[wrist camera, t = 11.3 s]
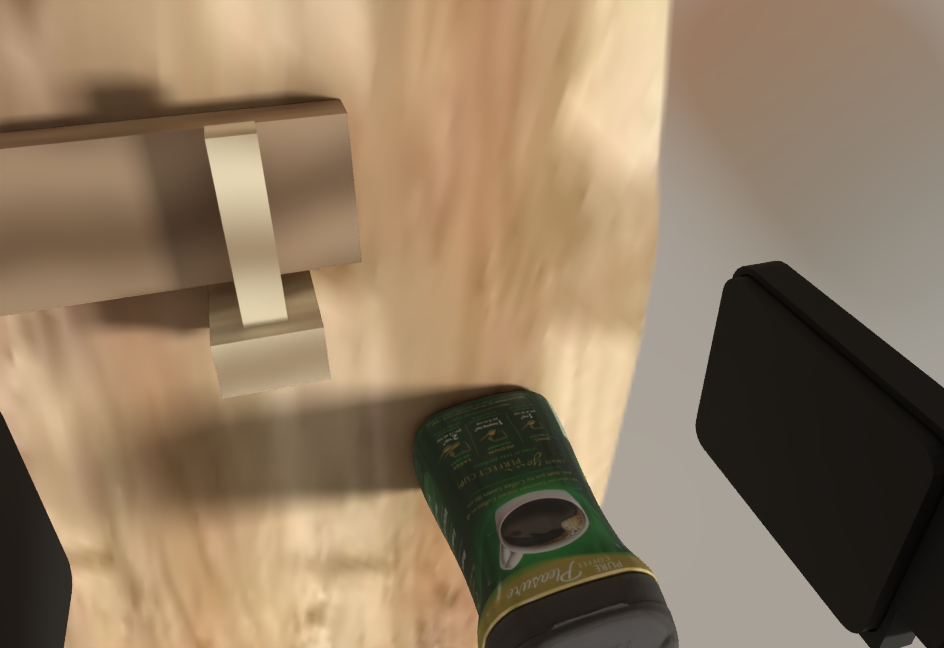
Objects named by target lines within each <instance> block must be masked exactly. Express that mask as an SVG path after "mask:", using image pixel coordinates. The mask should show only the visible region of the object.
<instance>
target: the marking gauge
mask: <svg viewBox="0 0 944 648" xmlns="http://www.w3.org/2000/svg"><path fill="white" fill-rule="evenodd" d="M204 135H205V143H206V148H207V153H208V157H209V162H210V167H211V172H212V177H213V182H214V186H215V191H216V196H217V201H218V206H219V211H220V215H221V220H222V225H223V230H224V235H225V240H226V244H227V249H228V254H229V259H230V264H231V269H232V273H233V278H234V281H233V282H226V283H219V284H213V285H208V301H209V327H210V347H211V351H212V356H213V360H214V364H215V368H216V372H217V376H218V381H219V385H220V389H221V393H222V397H223V399H225V398H230V397H236V396H241V395H247V394H252V393H257V392H263V391H268V390H274V389H279V388H285V387H290V386H296V385H301V384H307V383H312V382H318V381H323V380H329V379H331V376H330V369H329V362H328V354H327V347H326V340H325V333H324V326H323V322H322V318H321V314H320V310H319V306H318V303H317V299H316V295H315V291H314V287H313V283H312V279H311V275H310V271H309V270H306V271H300V272H293V273H286V274H280V268H279V262H278V256H277V250H276V244H275V238H274V232H273V226H272V220H271V215H270V209H269V203H268V197H267V191H266V185H265V179H264V173H263V167H262V161H261V155H260V149H259V143H258V137H257V131H256V126H255V121H248V122H239V123H229V124H219V125H210V126H204Z"/></svg>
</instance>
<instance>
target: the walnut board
mask: <svg viewBox="0 0 944 648" xmlns="http://www.w3.org/2000/svg"><path fill="white" fill-rule="evenodd" d="M248 121H255V126H256V131H257V137H258V143H259V149H260V155H261V161H262V167H263V173H264V179H265V185H266V191H267V197H268V203H269V209H270V215H271V220H272V226H273V232H274V238H275V244H276V250H277V256H278V262H279V268H280V274H286V273H293V272H300V271H306V270H313V269H320V268H327V267H333V266H340V265H347V264H353V263H360V262H362V259H361V249H360V239H359V228H358V218H357V208H356V198H355V187H354V177H353V167H352V157H351V146H350V136H349V126H348V116H347V112H346V110H345V108H344V106H343V104H342V102H341V100H340V99H337V100H327V101H317V102H307V103H297V104H287V105H277V106H267V107H257V108H247V109H237V110H227V111H217V112H206V113H196V114H186V115H176V116H166V117H156V118H146V119H136V120H126V121H116V122H106V123H96V124H85V125H75V126H65V127H55V128H45V129H35V130H25V131H15V132H5V133H0V316H5V315H12V314H18V313H25V312H32V311H39V310H45V309H52V308H59V307H65V306H72V305H79V304H85V303H92V302H99V301H106V300H112V299H119V298H126V297H132V296H139V295H146V294H152V293H159V292H166V291H172V290H179V289H186V288H193V287H199V286H206V285H213V284H219V283H226V282H233V281H234V278H233V273H232V269H231V264H230V259H229V254H228V249H227V244H226V240H225V235H224V230H223V225H222V220H221V215H220V211H219V206H218V201H217V196H216V191H215V186H214V182H213V177H212V172H211V167H210V162H209V157H208V153H207V148H206V143H205V135H204V126H210V125H219V124H229V123H239V122H248Z"/></svg>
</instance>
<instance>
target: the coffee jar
mask: <svg viewBox="0 0 944 648" xmlns="http://www.w3.org/2000/svg"><path fill="white" fill-rule="evenodd" d="M413 458H414V467H415V472H416V476H417V479H418V481H419V484H420V487H421V489H422V492H423V494H424V497H425V499H426V501H427V503H428V505H429V507H430V509H431V511H432V513H433V515H434V517H435V519H436V521H437V523H438V525H439V527H440V529H441V531H442V533H443V535H444V536H445V538H446V540H447V542H448V544H449V546H450V548H451V550H452V552H453V554H454V556H455V558H456V560H457V562H458V564H459V566H460V568H461V571H462V573H463V575H464V577H465V580H466V582H467V585H468V587H469V590H470V592H471V595H472V598H473V600H474V603H475V606H476V609H477V612H478V615H479V620H478V631H477V634H478V648H678V647H679V645H678V642H679V641H678V635H677V631H676V627H675V624H674V621H673V618H672V615H671V612H670V610H669V609H668V607H667V605H666V602H665V599H664V597H663V594H662V592H661V590H660V588H659V585H658V582H657V579H656V578H655V575H654V574H653V572H652V571H651V570H650V568H649V567H648V566H647V565H646V564H645V563H644V562H643V561H641V560H640V559H639V558H638V557H637V556H636V555H634V554H633V553H632V552H631V551H630V550H629V549H627V548H626V546H625V545H624V544H623V543H622V542H621V541H620V539H619V538H618V537H617V535H616V534H615V532H614V530H613V529H612V527H611V526H610V524H609V523H608V521H607V519H606V518H605V516H604V514H603V512H602V511H601V509H600V507H599V505H598V503H597V501H596V499H595V497H594V495H593V493H592V491H591V489H590V486H589V485H588V483H587V480H586V478H585V476H584V474H583V472H582V470H581V467H580V465H579V463H578V461H577V458H576V456H575V454H574V451H573V449H572V447H571V444H570V442H569V440H568V438H567V435H566V433H565V431H564V429H563V427H562V425H561V423H560V421H559V419H558V417H557V415H556V413H555V411H554V409H553V408H552V406H551V405H550V403H549V402H548V400H547V399H546V398H544V397H543V396H542V395H540V394H537V393H535V392H531V391H513V392H507V393H500V394H496V395H491V396H486V397H483V398H479V399H475V400H472V401H468V402H465V403H462V404H459V405H456V406H453V407H451V408H448V409H445V410H443V411H441V412H438V413H436V414H435V415H433V416H432V417H430V418H429V419H428V420H426V421H425V423H424V424H423V425H422V427H421V428H420V429H419V431H418V433H417V434H416V437H415V440H414V446H413Z"/></svg>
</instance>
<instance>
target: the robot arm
mask: <svg viewBox="0 0 944 648" xmlns="http://www.w3.org/2000/svg"><path fill="white" fill-rule="evenodd" d="M696 433H697V437H698V439H699V442H700V444H701V445H702V447H703V448H704V450H705V451H706V452H707V454H708V455H709V456H710V457H711V459H712V460H713V461H714V462H715V464H716V465H717V466H718V468H719V469H720V470H721V471H722V473H723V474H724V475H725V476H726V478H727V479H728V480H729V482H730V483H731V484H732V485H733V487H734V488H735V489H736V490H737V492H738V493H739V494H740V495H741V497H742V498H743V499H744V501H745V502H746V503H747V504H748V506H749V507H750V508H751V510H752V511H753V512H754V513H755V515H756V516H757V517H758V518H759V520H760V521H761V522H762V524H763V525H764V526H765V527H766V529H767V530H768V531H769V532H770V534H771V535H772V536H773V538H774V539H775V540H776V541H777V543H778V544H779V545H780V546H781V548H782V549H783V550H784V552H785V553H786V554H787V555H788V557H789V558H790V559H791V560H792V562H793V563H794V564H795V565H796V567H797V568H798V569H799V570H800V572H801V573H802V574H803V576H804V577H805V578H806V579H807V581H808V582H809V583H810V585H811V586H812V587H813V588H814V590H815V591H816V592H817V594H818V595H819V596H820V597H821V599H822V600H823V601H824V602H825V604H826V605H827V606H828V607H829V609H830V610H831V611H832V613H833V614H834V615H835V616H836V618H837V619H838V620H839V621H840V623H841V624H842V625H843V626H844V627H845V628H846V629H847V630H849V631H850V632H852V633H859V635H860V636H861V637H862V638H863V640H864V641H865V642H866V643H867V644H868V646H869V647H870V648H901V647H903V646H907V645H910V644H912V641H913V640H914V638H915V636H917V637H918V639H919V640H920V641H921V642H922V643H923V644H924V645H925V647H927V648H944V388H943V387H942V386H941V385H939V384H938V383H937V382H936V381H934V380H933V379H932V378H931V377H929V376H928V375H927V374H925V373H924V372H923V371H922V370H920V369H919V368H918V367H917V366H915V365H914V364H913V363H911V362H910V361H909V360H908V359H906V358H905V357H904V356H903V355H901V354H900V353H899V352H898V351H896V350H895V349H894V348H892V347H891V346H890V345H889V344H887V343H886V342H885V341H883V340H882V339H881V338H880V337H879V336H877V335H876V334H875V333H873V332H872V331H871V330H870V329H868V328H867V327H866V326H864V325H863V324H862V323H861V322H859V321H858V320H857V319H856V318H854V317H853V316H852V315H851V314H849V313H848V312H846V311H845V310H844V309H843V308H842V307H840V306H839V305H838V304H837V303H835V302H834V301H833V300H831V299H830V298H829V297H828V296H826V295H825V294H824V293H823V292H821V291H820V290H819V289H818V288H816V287H815V286H814V285H812V284H811V283H810V282H809V281H807V280H806V279H805V278H804V277H802V276H801V275H800V274H798V273H797V272H796V271H795V270H793V269H792V268H791V267H790V266H788V265H787V264H785V263H783V262H782V261H772V262H766V263H760V264H754V265H748V266H742V267H741V268H739V269H737V271H736V272H735V273H734V275H733V278H732V279H730V280H728V281H727V282H726V283H725V286H724V288H723V292H722V297H721V302H720V307H719V312H718V317H717V321H716V326H715V331H714V336H713V341H712V346H711V351H710V355H709V360H708V365H707V370H706V375H705V379H704V384H703V390H702V395H701V399H700V404H699V409H698V413H697V419H696ZM71 594H72V575H71V569H70V564H69V561H68V558H67V556H66V554H65V552H64V550H63V547H62V545H61V543H60V541H59V539H58V536H57V534H56V532H55V530H54V528H53V525H52V523H51V521H50V519H49V517H48V514H47V512H46V510H45V508H44V506H43V503H42V501H41V499H40V497H39V495H38V492H37V490H36V488H35V486H34V484H33V481H32V479H31V477H30V475H29V472H28V470H27V468H26V466H25V464H24V461H23V459H22V457H21V455H20V453H19V450H18V448H17V446H16V444H15V442H14V439H13V437H12V435H11V433H10V431H9V428H8V426H7V424H6V422H5V420H4V417H3V416H2V414H1V412H0V648H64V642H65V635H66V628H67V621H68V615H69V608H70V601H71Z"/></svg>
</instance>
